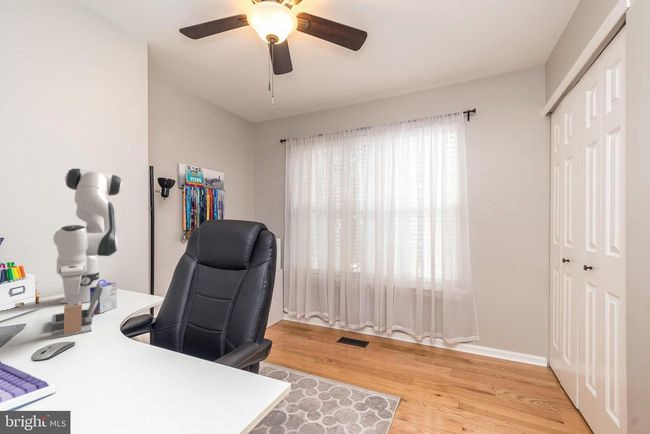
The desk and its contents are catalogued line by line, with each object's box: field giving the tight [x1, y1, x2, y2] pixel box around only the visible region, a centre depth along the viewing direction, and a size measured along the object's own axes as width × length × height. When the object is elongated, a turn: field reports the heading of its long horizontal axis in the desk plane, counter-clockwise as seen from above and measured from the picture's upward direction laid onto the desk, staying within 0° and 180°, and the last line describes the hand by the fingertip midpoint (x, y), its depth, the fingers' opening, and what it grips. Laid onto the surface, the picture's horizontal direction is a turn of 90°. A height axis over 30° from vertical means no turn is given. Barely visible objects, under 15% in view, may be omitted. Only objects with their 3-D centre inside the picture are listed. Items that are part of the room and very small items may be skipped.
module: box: [63, 302, 83, 334], centre depth 110 cm, size 5×5×11 cm
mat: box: [52, 324, 92, 340], centre depth 110 cm, size 8×11×1 cm
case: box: [51, 282, 103, 333], centre depth 119 cm, size 16×16×15 cm
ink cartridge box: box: [89, 279, 118, 315], centre depth 135 cm, size 10×6×14 cm, turn 174°
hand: (71, 302), depth 110 cm, fingers open, 8 cm apart
